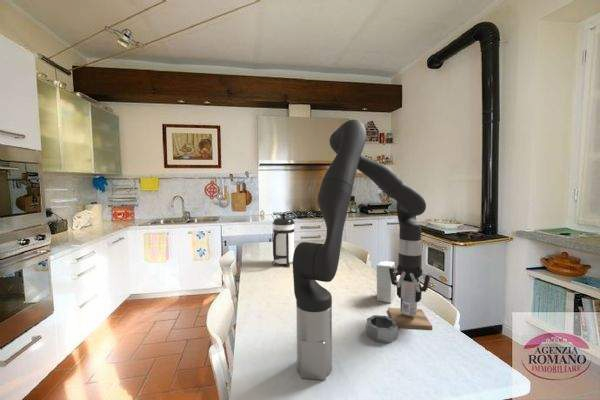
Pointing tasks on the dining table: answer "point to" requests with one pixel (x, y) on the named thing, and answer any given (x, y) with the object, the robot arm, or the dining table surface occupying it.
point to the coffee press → (283, 240)
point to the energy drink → (408, 298)
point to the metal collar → (382, 329)
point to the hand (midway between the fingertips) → (408, 299)
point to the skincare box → (385, 282)
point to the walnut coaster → (410, 319)
